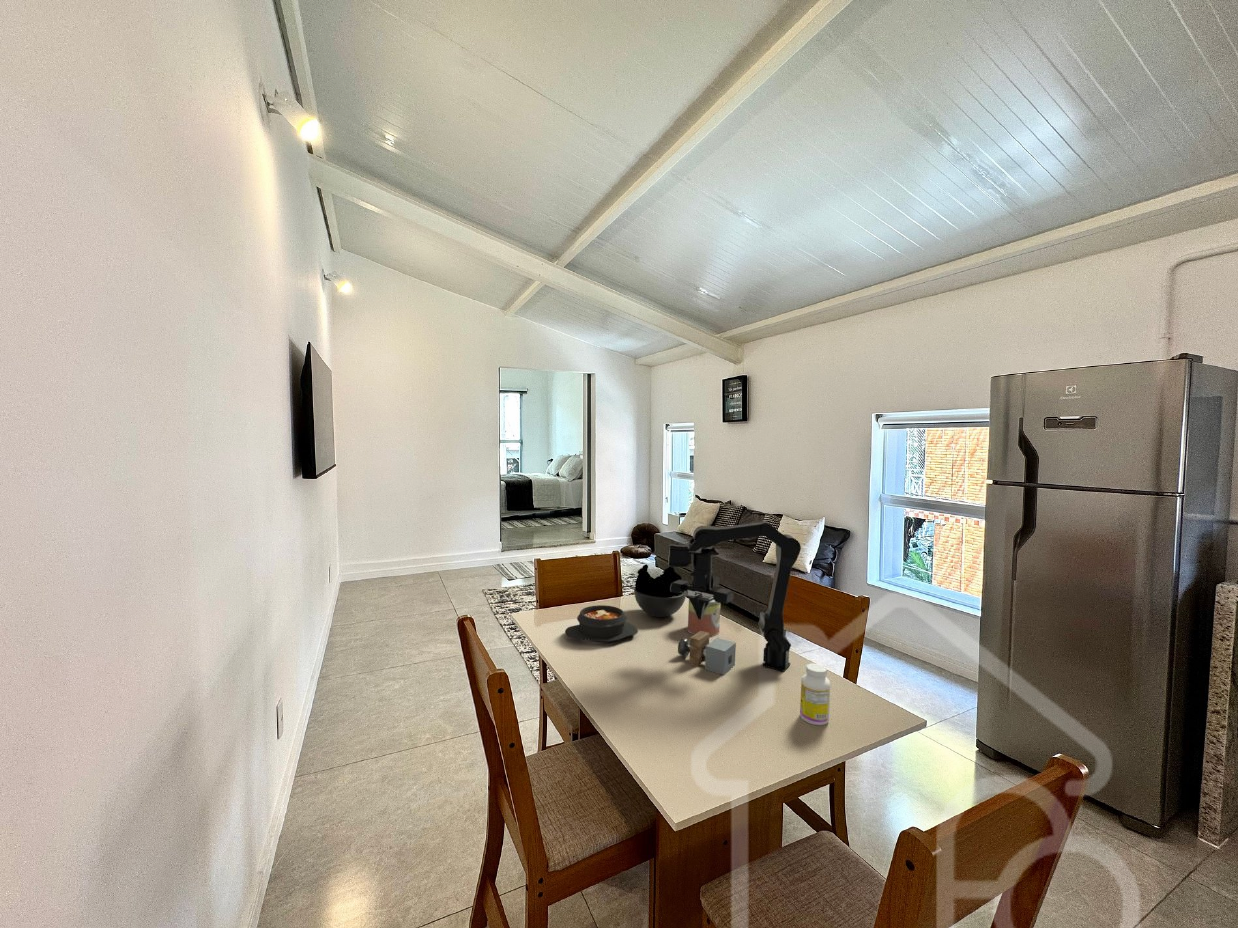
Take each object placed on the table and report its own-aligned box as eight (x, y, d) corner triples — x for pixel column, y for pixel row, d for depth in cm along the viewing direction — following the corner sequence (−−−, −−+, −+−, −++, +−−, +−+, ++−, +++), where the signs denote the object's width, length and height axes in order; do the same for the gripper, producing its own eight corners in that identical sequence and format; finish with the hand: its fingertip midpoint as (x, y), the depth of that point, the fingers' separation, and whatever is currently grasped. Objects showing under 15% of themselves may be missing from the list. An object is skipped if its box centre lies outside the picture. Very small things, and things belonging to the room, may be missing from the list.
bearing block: (734, 665, 152) (735, 642, 152) (724, 674, 146) (724, 651, 146) (716, 659, 156) (717, 637, 156) (705, 669, 149) (705, 645, 149)
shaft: (723, 662, 153) (724, 646, 153) (716, 668, 149) (717, 651, 149) (685, 651, 160) (685, 635, 160) (677, 656, 156) (678, 640, 156)
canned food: (710, 639, 172) (711, 604, 172) (681, 630, 179) (682, 597, 179) (725, 629, 181) (726, 596, 181) (697, 622, 188) (698, 590, 188)
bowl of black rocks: (696, 619, 191) (698, 570, 190) (653, 628, 181) (654, 576, 180) (664, 604, 208) (666, 558, 207) (623, 611, 198) (624, 564, 197)
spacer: (708, 658, 157) (709, 633, 157) (698, 666, 151) (699, 639, 151) (699, 655, 159) (700, 630, 158) (689, 663, 153) (690, 637, 153)
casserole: (571, 650, 160) (571, 624, 160) (560, 629, 178) (560, 605, 177) (645, 643, 167) (646, 618, 167) (627, 623, 185) (628, 600, 185)
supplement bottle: (805, 708, 129) (807, 658, 128) (832, 718, 124) (834, 666, 124) (795, 719, 123) (798, 667, 123) (823, 729, 119) (826, 676, 119)
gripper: (741, 568, 155) (739, 618, 156) (686, 558, 166) (685, 605, 166) (726, 575, 146) (724, 629, 146) (670, 565, 156) (668, 614, 157)
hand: (700, 618), depth 154 cm, fingers closed
